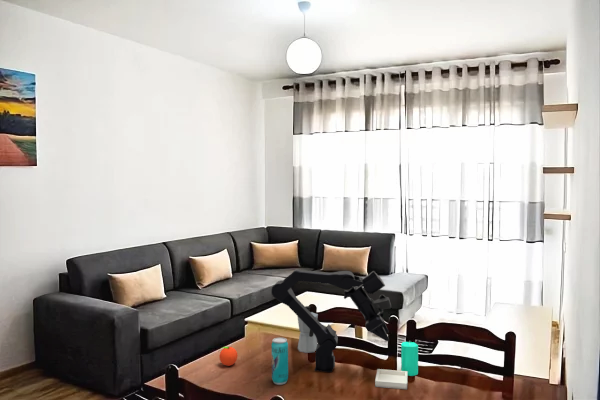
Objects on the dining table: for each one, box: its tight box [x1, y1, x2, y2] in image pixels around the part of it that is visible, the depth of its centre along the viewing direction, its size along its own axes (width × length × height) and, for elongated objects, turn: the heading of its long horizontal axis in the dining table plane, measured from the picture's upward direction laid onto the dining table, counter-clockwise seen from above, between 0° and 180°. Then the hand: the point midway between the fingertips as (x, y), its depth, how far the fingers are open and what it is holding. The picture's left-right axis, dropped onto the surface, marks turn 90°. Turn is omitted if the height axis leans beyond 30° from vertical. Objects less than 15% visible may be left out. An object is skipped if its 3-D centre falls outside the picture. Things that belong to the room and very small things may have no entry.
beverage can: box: [271, 337, 289, 386], centre depth 170 cm, size 6×6×15 cm
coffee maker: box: [296, 305, 319, 354], centre depth 201 cm, size 15×9×18 cm, turn 14°
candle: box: [400, 339, 419, 377], centre depth 177 cm, size 6×6×12 cm
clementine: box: [218, 346, 239, 367], centre depth 186 cm, size 8×7×7 cm
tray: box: [374, 368, 409, 390], centre depth 169 cm, size 11×11×2 cm
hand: (387, 336), depth 177 cm, fingers open, 9 cm apart
